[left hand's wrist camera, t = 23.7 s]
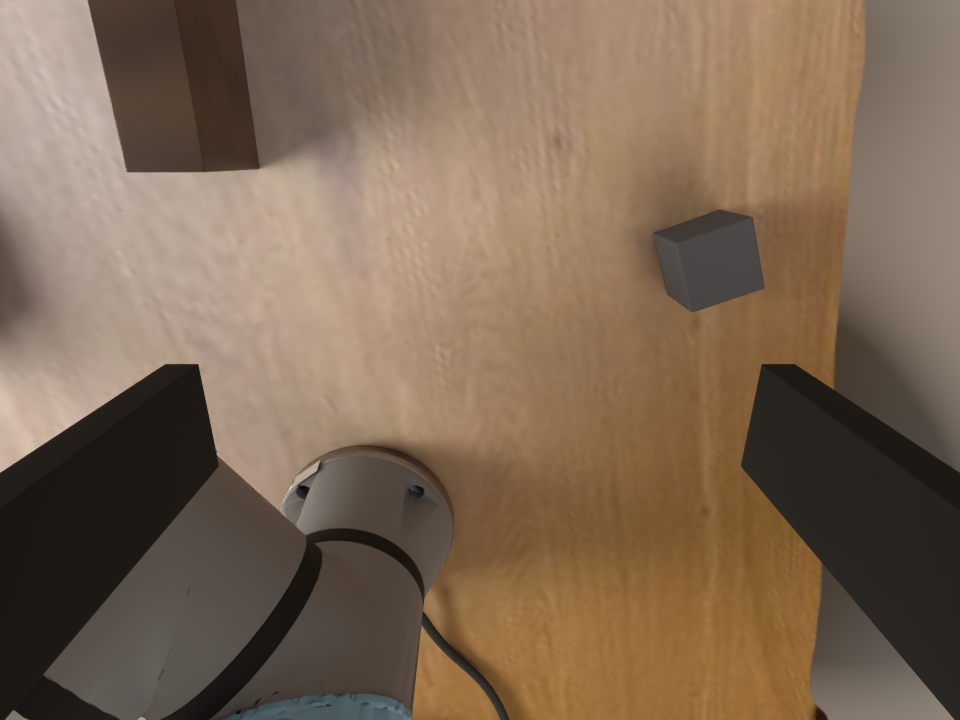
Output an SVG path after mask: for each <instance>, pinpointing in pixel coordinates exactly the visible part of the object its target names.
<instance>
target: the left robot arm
mask: <svg viewBox="0 0 960 720" xmlns="http://www.w3.org/2000/svg"><path fill="white" fill-rule="evenodd" d="M216 453H217V450H216V449H215V444H214V439H213V434H212V429H211V424H210V419H209V415H208V410H207V405H206V400H205V395H204V390H203V385H202V380H201V376H200V371H199V366H198V364H165V365H163V366H162V367H160V368H159V369H157V370H156V371H154V372H153V373H151V374H150V375H148V376H147V377H145V378H144V379H142V380H141V381H139V382H138V383H136V384H135V385H133V386H132V387H130V388H128V389H127V390H125V391H124V392H122V393H121V394H119V395H118V396H116V397H115V398H113V399H112V400H110V401H109V402H107V403H106V404H104V405H103V406H101V407H100V408H98V409H97V410H95V411H94V412H92V413H90V414H89V415H87V416H86V417H84V418H83V419H81V420H80V421H78V422H77V423H75V424H74V425H72V426H71V427H69V428H68V429H66V430H65V431H63V432H62V433H60V434H59V435H57V436H56V437H54V438H52V439H51V440H49V441H48V442H46V443H45V444H43V445H42V446H40V447H39V448H37V449H36V450H34V451H33V452H31V453H30V454H28V455H27V456H25V457H24V458H22V459H21V460H19V461H18V462H16V463H14V464H13V465H11V466H10V467H8V468H7V469H5V470H4V471H2V472H1V473H0V720H137V719H138V718H140V717H141V716H142V717H144V718H145V719H146V720H412V709H413V700H414V690H415V680H416V671H417V661H418V652H419V642H420V632H421V625H422V626H423V627H424V629H425V630H426V632H427V633H428V634H429V636H430V637H431V638H432V640H433V641H434V642H435V643H436V644H437V645H438V646H439V648H440V649H441V650H442V651H443V652H444V653H445V654H446V655H447V656H448V657H450V658H451V659H452V660H453V661H454V662H455V663H456V664H457V665H459V666H460V667H461V668H462V669H463V670H464V671H466V672H467V673H468V674H469V675H470V676H471V677H472V678H473V679H474V680H475V681H476V682H477V683H478V684H479V685H480V686H481V688H482V689H483V690H484V691H485V693H486V694H487V695H488V697H489V698H490V700H491V701H492V703H493V705H494V707H495V708H496V710H497V712H498V715H499V717H500V719H501V720H509V717H508V715H507V712H506V710H505V708H504V706H503V704H502V702H501V700H500V698H499V697H498V695H497V694H496V692H495V691H494V689H493V688H492V686H491V685H490V684H489V683H488V681H487V680H486V679H485V678H484V677H483V676H482V675H481V674H480V673H479V672H478V671H477V670H476V669H475V668H474V667H473V666H472V665H471V664H470V663H468V662H467V661H466V660H465V659H464V658H463V657H462V656H460V655H459V654H458V653H457V652H456V651H455V650H454V649H453V648H452V647H451V646H450V645H449V644H448V643H447V642H446V641H445V640H444V639H443V637H442V636H441V635H440V634H439V632H438V631H437V630H436V628H435V627H434V626H433V624H432V623H431V621H430V620H429V619H428V617H427V616H426V614H425V613H424V612H423V605H424V598H425V596H426V594H427V593H428V591H429V589H430V587H431V586H432V584H433V582H434V581H435V579H436V577H437V575H438V574H439V572H440V570H441V568H442V567H443V565H444V563H445V561H446V559H447V557H448V554H449V552H450V549H451V545H452V540H453V527H454V515H453V509H452V505H451V501H450V499H449V496H448V494H447V492H446V490H445V489H444V487H443V485H442V484H441V483H440V481H439V480H438V479H437V478H436V477H435V475H434V474H433V473H432V472H430V471H429V470H428V469H427V468H426V467H424V466H423V465H422V464H420V463H419V462H417V461H416V460H414V459H412V458H410V457H408V456H406V455H404V454H401V453H399V452H396V451H393V450H390V449H385V448H380V447H372V446H355V447H347V448H342V449H338V450H335V451H332V452H329V453H327V454H324V455H322V456H320V457H319V458H317V459H315V460H314V461H312V462H311V463H309V464H308V465H307V466H306V467H305V468H304V469H303V470H302V471H301V472H300V473H299V474H298V476H296V478H295V480H294V481H293V483H292V485H291V487H290V488H289V490H288V492H287V494H286V496H285V498H284V500H283V502H282V506H281V509H280V512H279V511H278V510H277V509H276V508H275V507H274V506H273V505H272V504H270V503H269V502H268V501H267V500H266V499H265V498H264V497H263V496H262V495H260V494H259V493H258V492H257V491H256V490H255V489H254V488H253V487H252V486H250V485H249V484H248V483H247V482H246V481H245V480H244V479H243V478H242V477H240V476H239V475H238V474H237V473H236V472H235V471H234V470H233V469H231V468H230V467H229V466H228V465H227V464H226V463H225V462H224V461H223V460H221V459H220V458H219V457H218V456H217V454H216ZM741 467H742V468H743V469H744V471H745V472H746V473H747V474H748V475H749V476H750V478H751V479H752V480H753V481H754V482H755V484H756V485H757V486H758V487H759V488H760V489H761V491H762V492H763V493H764V494H765V495H766V497H767V498H768V499H769V500H770V501H771V503H772V504H773V505H774V506H775V507H776V508H777V510H778V511H779V512H780V513H781V514H782V516H783V517H784V518H785V519H786V520H787V521H788V523H789V524H790V525H791V526H792V527H793V529H794V530H795V531H796V532H797V533H798V535H799V536H800V537H801V538H802V539H803V540H804V542H805V543H806V544H807V545H808V546H809V548H810V549H811V550H812V551H813V552H814V553H815V555H816V556H817V557H818V558H819V559H820V561H821V562H822V563H823V564H824V565H825V567H826V568H827V569H828V570H829V571H830V572H831V574H832V575H833V576H834V577H835V578H836V579H837V581H838V582H839V583H840V584H841V585H842V587H843V588H844V589H845V590H846V591H847V593H848V594H849V595H850V596H851V597H852V598H853V600H854V601H855V602H856V603H857V604H858V606H859V607H860V608H861V609H862V610H863V612H864V613H865V614H866V615H867V616H868V617H869V619H870V620H871V621H872V622H873V623H874V625H875V626H876V627H877V628H878V629H879V630H880V632H881V633H882V634H883V635H884V636H885V638H886V639H887V640H888V641H889V642H890V644H891V645H892V646H893V647H894V648H895V649H896V651H897V652H898V653H899V654H900V655H901V657H902V658H903V659H904V660H905V661H906V662H907V664H908V665H909V666H910V667H911V668H912V670H913V671H914V672H915V673H916V674H917V675H918V677H919V678H920V679H921V680H922V681H923V683H924V684H925V685H926V686H927V687H928V689H929V690H930V691H931V692H932V693H933V694H934V696H935V697H936V698H937V699H938V700H939V702H940V703H941V704H942V705H943V706H944V707H945V709H946V710H947V711H948V712H949V713H950V715H951V716H952V717H953V718H954V719H955V720H960V473H959V472H958V471H956V470H955V469H953V468H952V467H950V466H949V465H947V464H946V463H944V462H942V461H941V460H939V459H938V458H936V457H935V456H933V455H932V454H930V453H929V452H927V451H926V450H924V449H923V448H921V447H920V446H918V445H917V444H915V443H914V442H912V441H911V440H909V439H908V438H906V437H904V436H903V435H901V434H900V433H898V432H897V431H895V430H894V429H892V428H891V427H889V426H888V425H886V424H885V423H883V422H882V421H880V420H879V419H877V418H876V417H874V416H873V415H871V414H870V413H868V412H866V411H865V410H863V409H862V408H860V407H859V406H857V405H856V404H854V403H853V402H851V401H850V400H848V399H847V398H845V397H844V396H842V395H841V394H839V393H838V392H836V391H835V390H833V389H832V388H830V387H828V386H827V385H825V384H824V383H822V382H821V381H819V380H818V379H816V378H815V377H813V376H812V375H810V374H809V373H807V372H806V371H804V370H803V369H801V368H800V367H798V366H797V365H795V364H762V366H761V371H760V376H759V380H758V385H757V390H756V395H755V400H754V405H753V410H752V415H751V419H750V424H749V429H748V434H747V439H746V444H745V449H744V454H743V459H742V463H741Z"/></svg>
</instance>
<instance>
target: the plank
mask: <svg viewBox="0 0 960 720" xmlns="http://www.w3.org/2000/svg"><path fill="white" fill-rule="evenodd" d="M88 4H89V8H90V13H91V17H92V21H93V26H94V30H95V35H96V39H97V43H98V48H99V52H100V57H101V61H102V65H103V70H104V74H105V79H106V83H107V87H108V92H109V96H110V101H111V105H112V109H113V114H114V118H115V123H116V127H117V131H118V136H119V140H120V145H121V149H122V153H123V158H124V162H125V167H126V171H127V172H216V171H234V170H252V169H259V162H258V155H257V148H256V141H255V134H254V127H253V120H252V113H251V106H250V99H249V92H248V85H247V78H246V71H245V64H244V57H243V50H242V43H241V36H240V29H239V22H238V15H237V8H236V1H235V0H88Z"/></svg>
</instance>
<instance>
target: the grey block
mask: <svg viewBox="0 0 960 720" xmlns="http://www.w3.org/2000/svg"><path fill="white" fill-rule="evenodd" d="M653 235H654V240H655V244H656V248H657V252H658V256H659V260H660V264H661V268H662V273H663V277H664V281H665V285H666V289H667V293H668V295H669V296H670V297H672V298H673V299H674V300H676V301H677V302H678V303H680V304H681V305H683V306H684V307H685V308H687V309H688V310H689V311H691V312H695V311H698V310H701V309H704V308H707V307H710V306H713V305H716V304H719V303H722V302H725V301H728V300H731V299H734V298H737V297H740V296H743V295H746V294H749V293H752V292H755V291H758V290H761V289H764V282H763V276H762V270H761V265H760V259H759V253H758V247H757V242H756V236H755V230H754V225H753V219H752V217H750V216H745V215H741V214H736V213H731V212H727V211H722V210H717V211H715V212H712V213H709V214H706V215H703V216H701V217H698V218H695V219H692V220H689V221H687V222H684V223H681V224H678V225H675V226H673V227H670V228H667V229H664V230H661V231H658V232H656V233H654V234H653Z"/></svg>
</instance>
